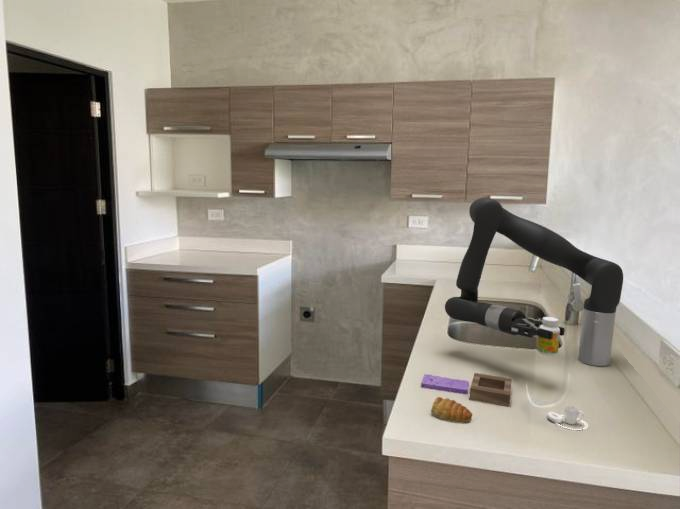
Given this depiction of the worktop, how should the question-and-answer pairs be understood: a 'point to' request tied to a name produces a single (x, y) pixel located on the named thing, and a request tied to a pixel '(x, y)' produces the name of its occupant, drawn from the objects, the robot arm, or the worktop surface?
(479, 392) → the bottle holder
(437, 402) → the pastry
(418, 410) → the worktop surface
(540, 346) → the supplement bottle
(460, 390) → the sponges
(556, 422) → the teacup and saucer
